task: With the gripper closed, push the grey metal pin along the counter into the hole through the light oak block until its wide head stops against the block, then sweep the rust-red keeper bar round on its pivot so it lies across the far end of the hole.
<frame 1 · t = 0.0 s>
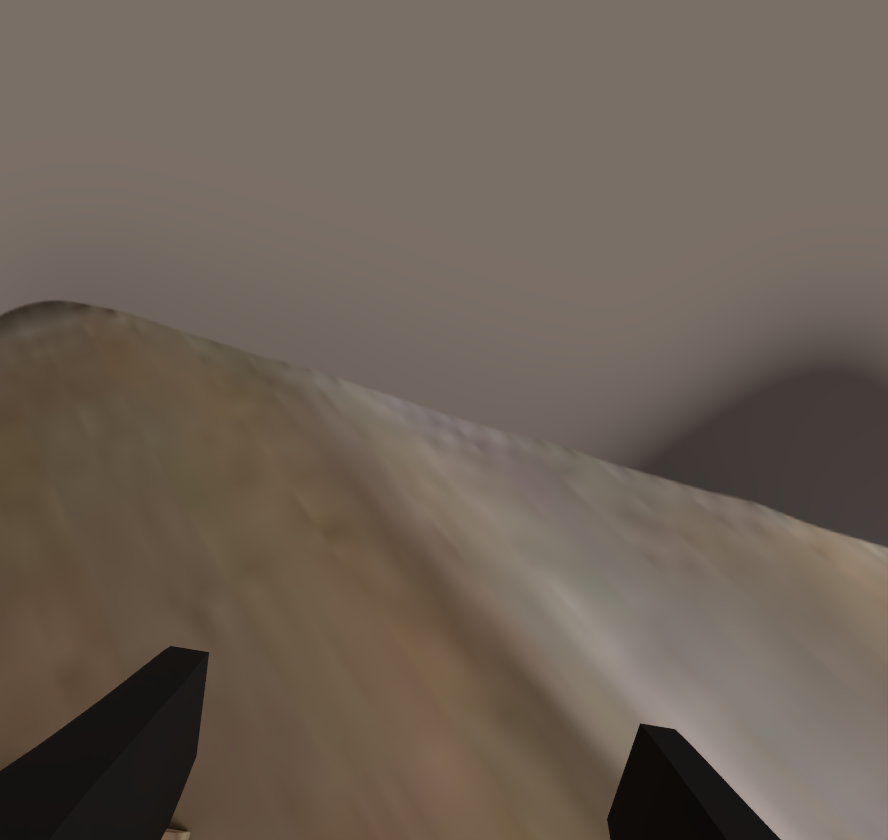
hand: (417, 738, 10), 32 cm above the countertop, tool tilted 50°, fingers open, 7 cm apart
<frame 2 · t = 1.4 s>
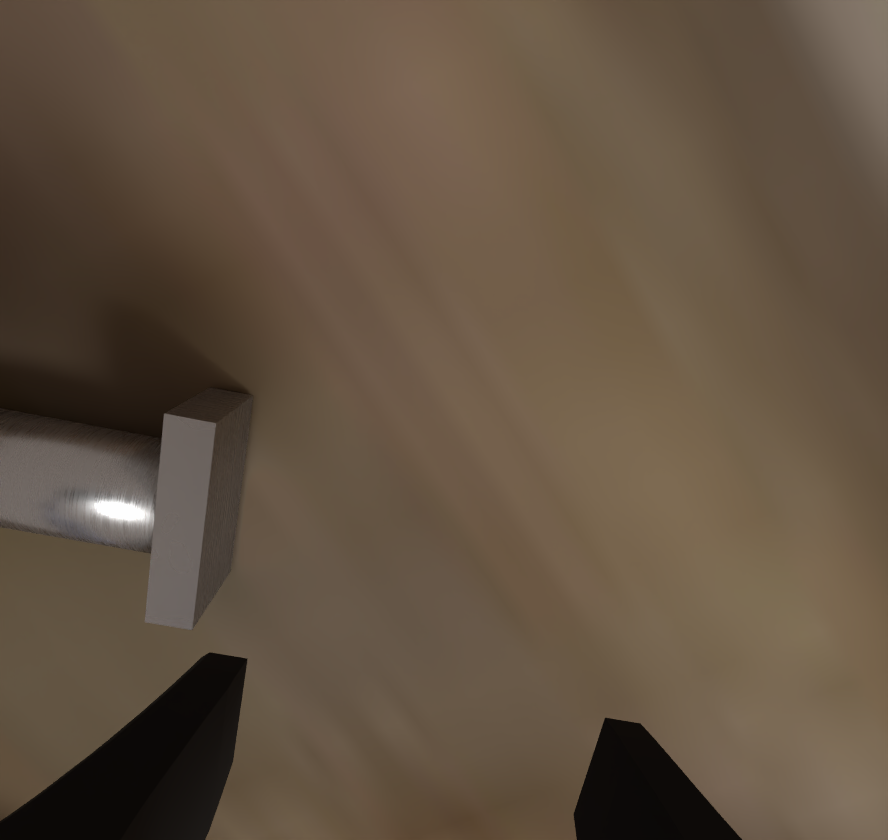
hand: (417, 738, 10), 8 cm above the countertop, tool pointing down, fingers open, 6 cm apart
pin: (241, 487, 18), on the countertop
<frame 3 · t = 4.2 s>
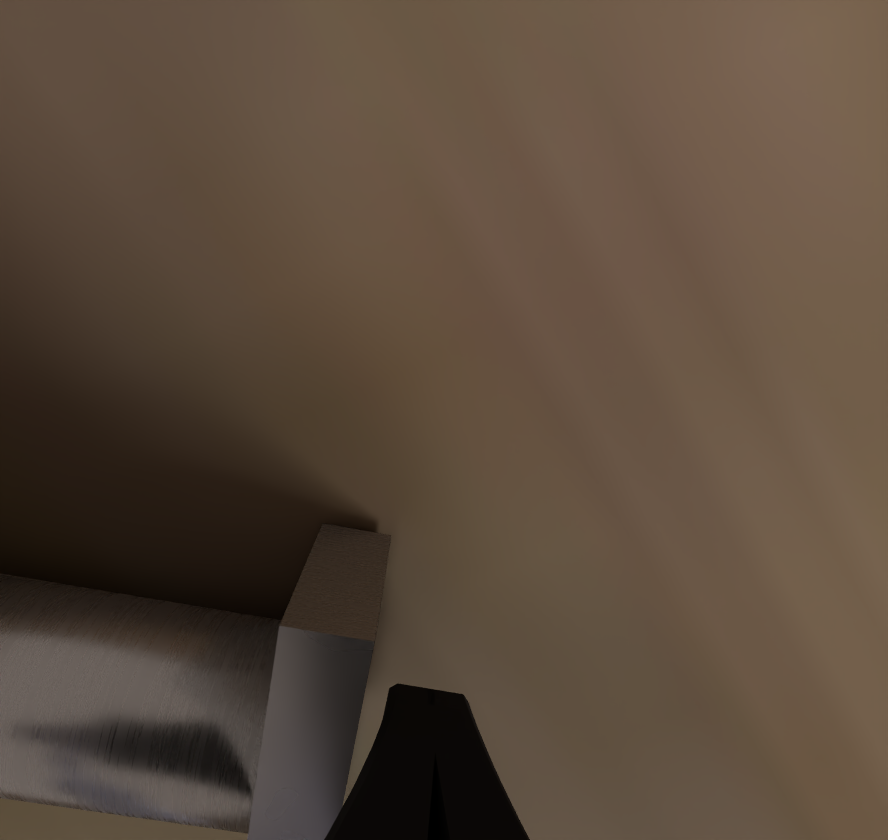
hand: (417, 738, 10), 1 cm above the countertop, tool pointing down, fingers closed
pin: (364, 671, 11), on the countertop, touching gripper
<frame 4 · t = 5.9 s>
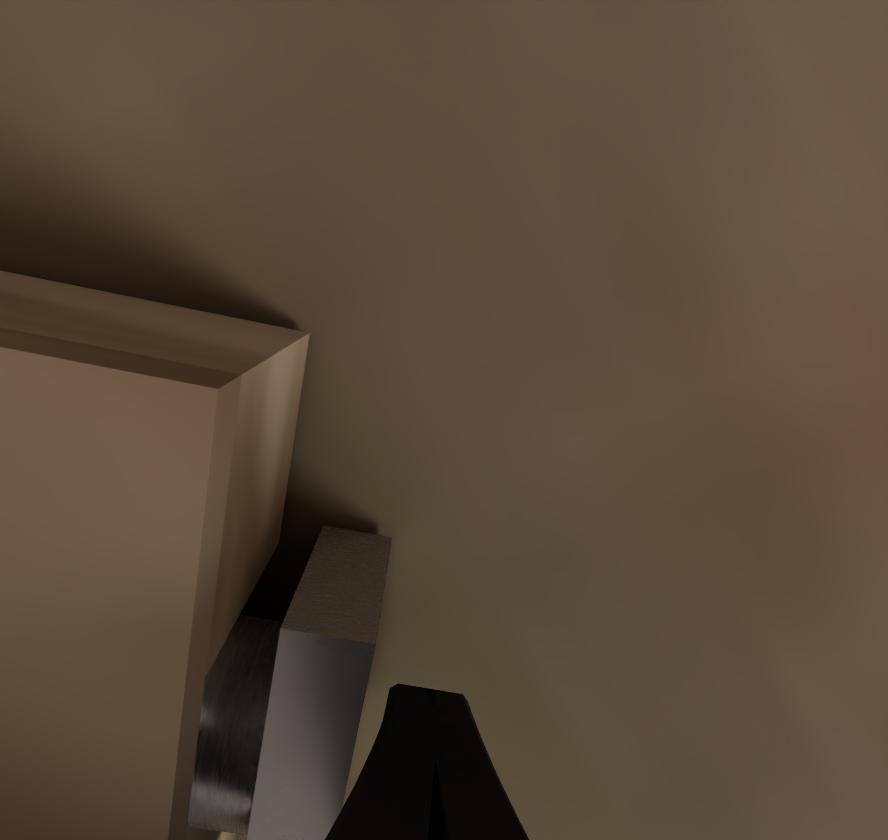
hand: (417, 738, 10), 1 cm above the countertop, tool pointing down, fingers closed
block: (67, 622, 11), on the countertop
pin: (364, 673, 11), on the countertop, touching gripper
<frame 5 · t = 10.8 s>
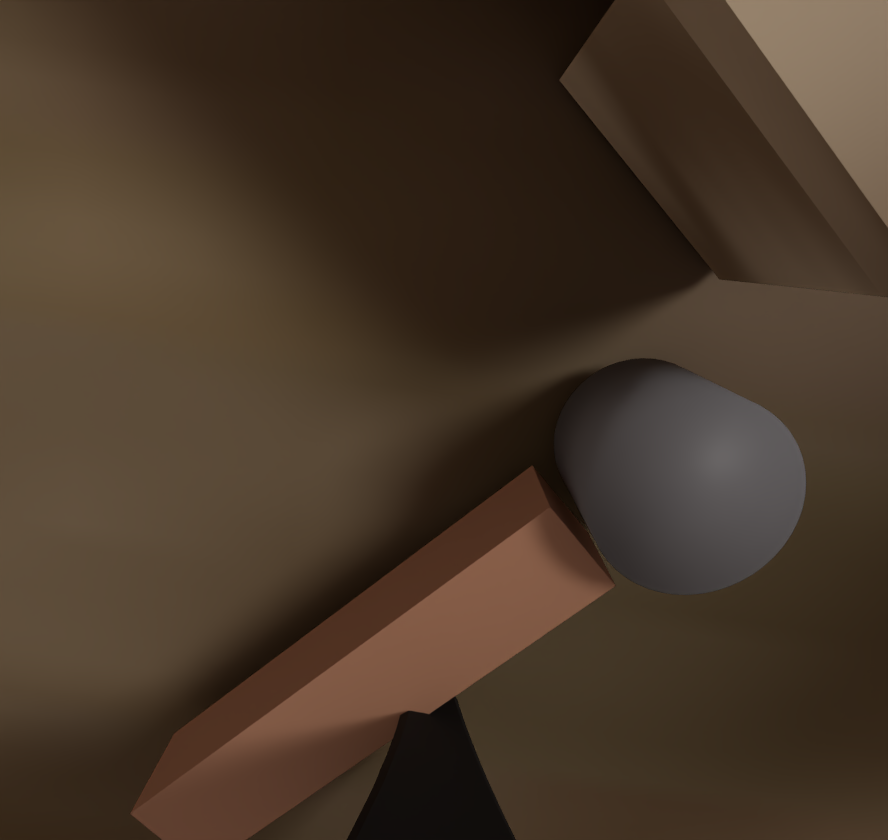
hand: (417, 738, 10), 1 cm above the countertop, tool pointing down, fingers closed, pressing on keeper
keeper: (433, 629, 9), point 1 cm above the countertop, hinge at 85.7°, touching gripper
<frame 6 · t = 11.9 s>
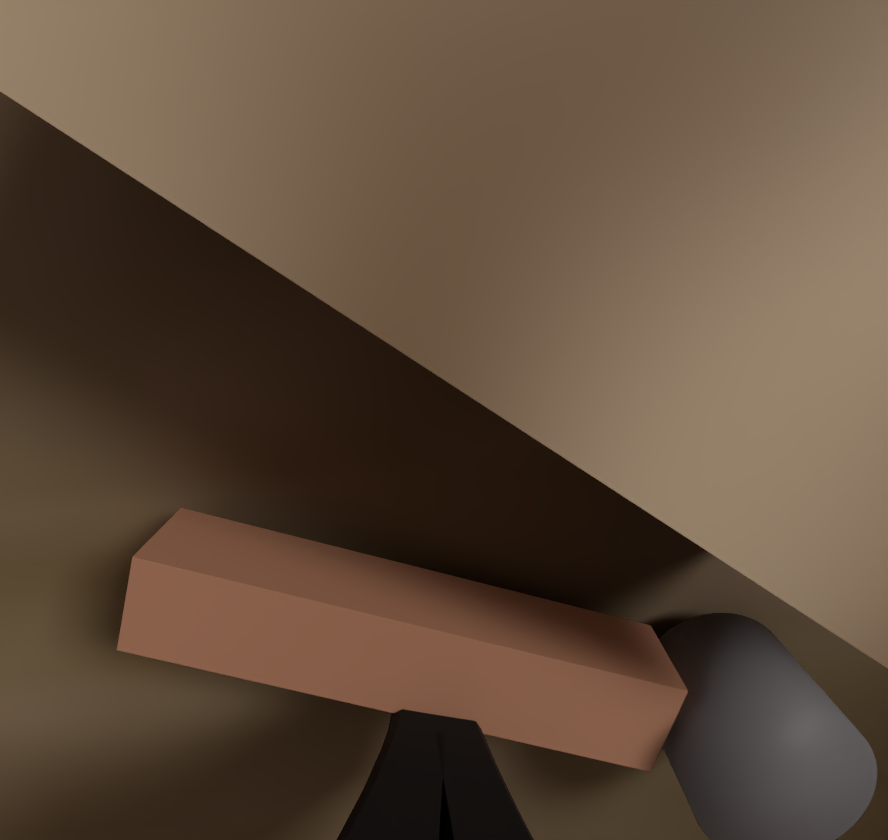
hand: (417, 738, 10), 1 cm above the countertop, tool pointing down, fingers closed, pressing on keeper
keeper: (497, 667, 9), point 1 cm above the countertop, hinge at 17.5°, touching gripper
block: (601, 133, 9), on the countertop
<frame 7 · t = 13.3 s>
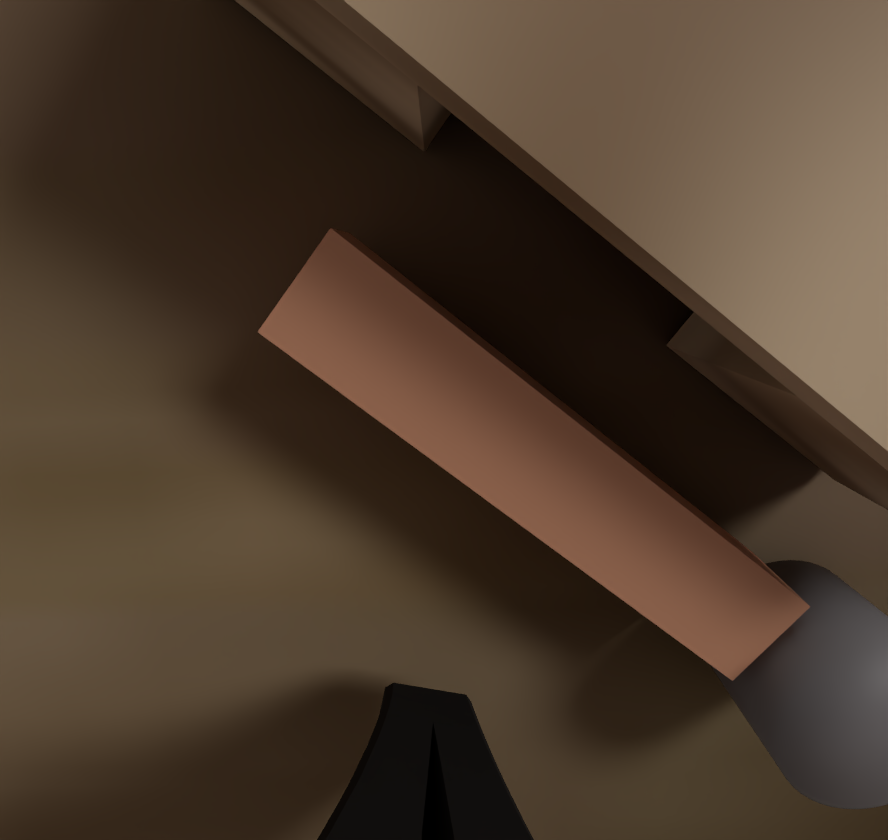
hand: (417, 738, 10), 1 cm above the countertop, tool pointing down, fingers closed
keeper: (621, 522, 9), point 1 cm above the countertop, hinge at -1.4°
block: (713, 38, 8), on the countertop
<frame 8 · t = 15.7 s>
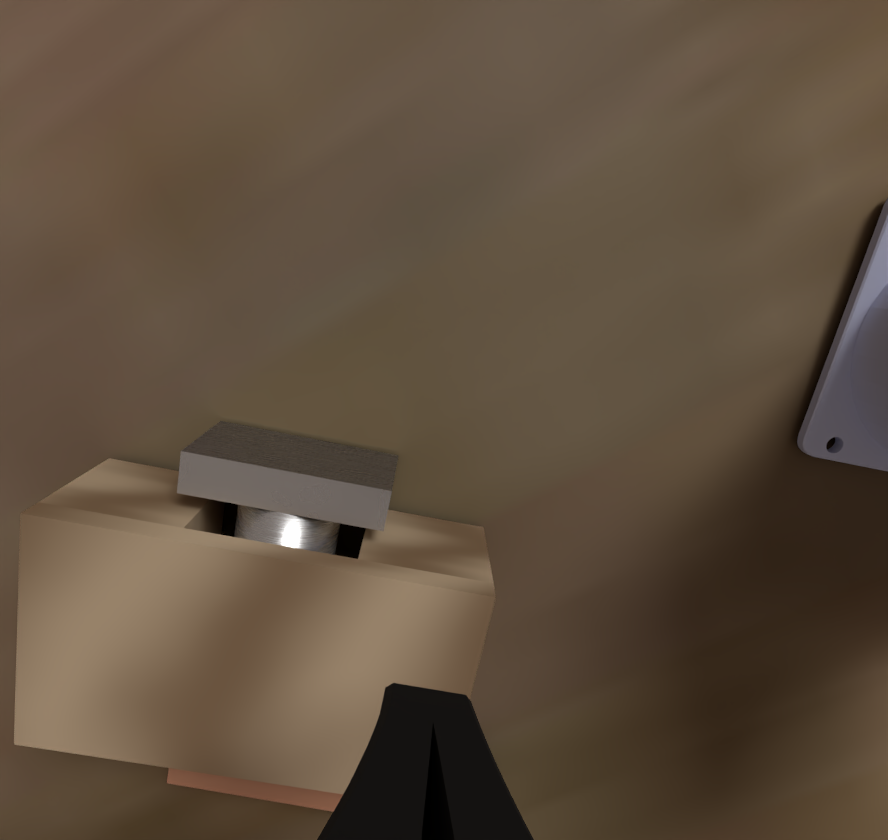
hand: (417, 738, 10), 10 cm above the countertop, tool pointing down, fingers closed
keeper: (336, 779, 21), point 1 cm above the countertop, hinge at -1.5°
block: (285, 589, 20), on the countertop
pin: (310, 438, 19), on the countertop
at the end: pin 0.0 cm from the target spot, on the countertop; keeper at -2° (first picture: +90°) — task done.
